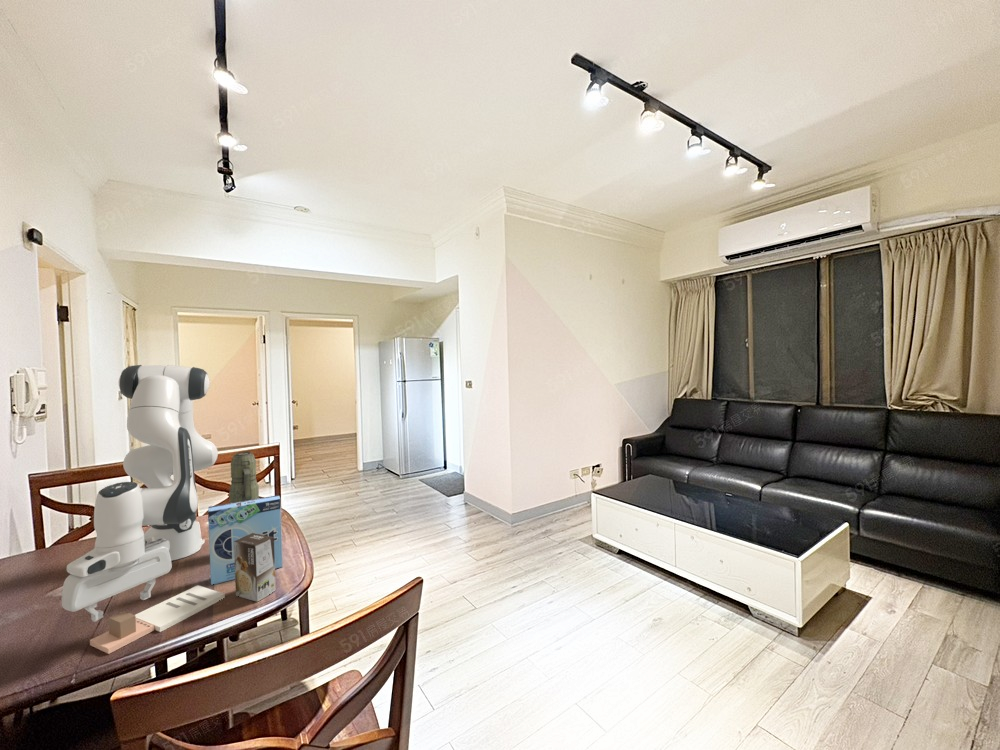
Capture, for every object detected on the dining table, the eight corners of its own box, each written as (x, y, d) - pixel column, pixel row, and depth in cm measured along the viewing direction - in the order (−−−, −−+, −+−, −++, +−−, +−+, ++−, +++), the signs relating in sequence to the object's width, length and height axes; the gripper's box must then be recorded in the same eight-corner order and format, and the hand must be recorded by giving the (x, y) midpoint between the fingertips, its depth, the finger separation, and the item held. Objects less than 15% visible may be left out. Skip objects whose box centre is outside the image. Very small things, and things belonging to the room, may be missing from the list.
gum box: (281, 561, 138) (279, 494, 138) (282, 568, 134) (281, 498, 134) (210, 578, 128) (208, 505, 127) (210, 586, 124) (207, 510, 123)
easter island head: (237, 561, 139) (235, 458, 138) (225, 551, 146) (223, 453, 145) (266, 551, 146) (263, 453, 145) (253, 542, 153) (250, 449, 152)
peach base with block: (89, 644, 98) (89, 623, 98) (135, 622, 106) (134, 602, 106) (108, 654, 95) (107, 631, 94) (154, 630, 103) (153, 610, 103)
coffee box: (277, 590, 121) (275, 536, 120) (257, 602, 115) (255, 545, 114) (254, 584, 124) (253, 532, 124) (234, 596, 118) (232, 540, 118)
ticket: (132, 620, 107) (132, 615, 107) (197, 589, 122) (197, 584, 122) (160, 632, 102) (160, 626, 102) (224, 598, 117) (224, 593, 117)
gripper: (161, 533, 110) (163, 584, 111) (56, 568, 92) (58, 630, 92) (176, 537, 108) (178, 589, 108) (71, 573, 89) (73, 637, 89)
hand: (122, 608), depth 100 cm, fingers open, 8 cm apart
